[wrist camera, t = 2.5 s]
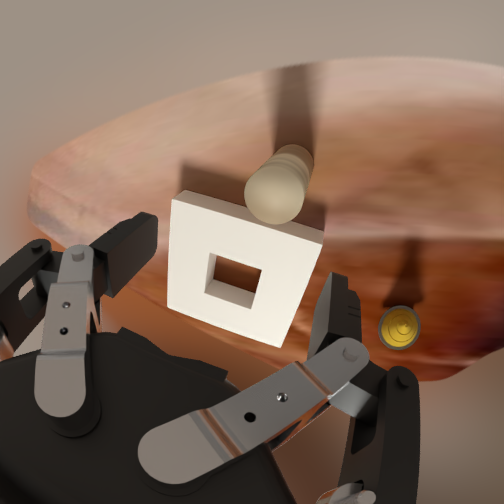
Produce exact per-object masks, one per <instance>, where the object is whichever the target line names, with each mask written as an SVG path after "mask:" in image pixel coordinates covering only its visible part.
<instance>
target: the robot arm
mask: <svg viewBox="0 0 504 504" xmlns="http://www.w3.org/2000/svg"><path fill="white" fill-rule="evenodd" d="M157 235H158V218H157V216H155V215H152V214H149V213H145V212H140V213H139V214H137V215H136V216H135V217H133V218H132V219H127V220H124V221H122V222H119V223H118V224H117V225H115V226H114V227H113V229H112V228H111V229H110V230H109V231H107V233H105V234H103V235H102V236H101V237H99V238H98V239H97V240H95V241H94V242H93V243H91V244H90V245H89V246H87V245H74V246H71V247H69V248H68V249H66V250H65V252H57V251H52V248H51V243H50V242H49V241H48V240H46V239H36V240H33V241H31V242H29V243H28V244H27V245H25V246H24V247H23V248H22V249H20V250H19V251H18V252H17V253H15V254H14V255H13V256H12V257H11V258H9V259H8V260H7V261H6V262H5V263H3V264H2V265H1V266H0V504H297V503H296V501H295V499H294V497H293V495H292V493H291V491H290V489H289V487H288V485H287V483H286V481H285V479H284V477H283V475H282V472H281V470H280V468H279V466H278V464H277V462H276V460H275V458H274V456H273V453H272V452H273V451H274V450H275V449H277V448H278V447H280V446H281V445H283V444H284V443H285V442H287V441H288V440H289V439H291V438H292V437H293V436H294V435H295V434H297V433H298V432H299V431H300V430H301V429H303V428H304V427H305V426H307V425H308V424H309V423H311V422H312V421H313V420H314V419H316V418H317V417H318V416H319V415H321V414H322V413H323V412H324V411H326V410H327V409H328V408H329V407H330V406H332V405H333V406H335V407H336V408H338V409H340V410H342V411H343V412H345V413H347V414H349V415H351V418H350V425H349V430H348V436H347V442H346V448H345V454H344V458H343V464H342V468H341V473H340V477H339V482H338V486H337V488H336V489H333V490H331V491H328V492H326V493H325V494H323V495H322V496H321V497H320V498H319V500H318V501H317V503H316V504H416V497H417V489H418V477H419V461H420V399H419V384H418V380H417V378H416V376H415V375H414V374H413V373H412V372H411V371H410V370H409V369H407V368H405V367H402V366H395V367H392V368H391V369H390V370H389V371H386V370H384V369H383V368H381V367H379V366H377V365H376V364H374V363H373V362H371V361H370V360H369V353H368V351H367V349H366V348H365V346H364V345H363V344H362V333H361V311H360V310H361V307H360V299H359V298H358V296H357V294H356V292H355V291H352V290H349V289H348V277H347V276H343V275H340V274H337V273H334V272H330V274H329V276H328V278H327V281H326V283H325V285H324V287H323V290H322V292H321V294H320V296H319V299H318V301H317V304H316V307H315V311H314V318H313V324H312V331H311V337H310V344H309V350H308V355H307V361H305V362H304V363H302V364H300V363H299V362H298V361H295V362H293V363H291V364H289V365H288V366H286V367H284V368H283V369H281V370H279V371H278V372H276V373H274V374H272V375H271V376H269V377H267V378H266V379H264V380H262V381H260V382H258V383H257V384H255V385H253V386H251V387H249V388H248V389H246V390H244V391H242V392H241V391H240V390H239V389H238V388H237V387H236V386H235V385H234V384H232V383H231V382H230V381H228V380H226V378H227V374H228V371H226V370H224V369H221V368H218V367H216V366H213V365H210V364H207V363H205V362H202V361H200V360H193V359H188V358H182V357H176V356H171V355H168V354H166V353H165V352H164V351H162V350H161V349H160V348H158V347H157V346H156V345H154V344H153V343H152V342H151V341H149V340H148V339H147V338H145V337H143V336H140V335H139V334H137V333H134V332H132V331H130V330H128V329H126V328H124V327H122V328H121V329H120V330H119V332H118V333H111V332H102V303H101V296H102V295H103V294H105V295H107V296H109V297H112V298H114V297H115V295H116V294H117V293H118V292H119V291H120V290H121V289H122V288H123V287H124V286H125V285H126V284H127V283H128V282H129V281H130V280H131V279H132V278H133V276H134V275H135V274H136V273H137V272H138V271H139V270H140V269H141V268H142V267H143V266H144V265H145V264H146V263H147V262H148V261H149V260H150V259H151V258H152V257H153V256H154V254H155V252H156V249H157ZM31 278H32V281H33V285H34V287H33V288H32V289H31V290H30V291H29V292H28V293H27V294H26V295H25V296H24V297H23V298H22V299H21V300H19V297H18V294H19V291H20V289H21V287H22V286H23V285H24V284H25V283H26V282H28V281H29V280H30V279H31ZM44 317H45V321H44V328H43V336H42V346H41V349H39V350H36V351H32V352H29V353H26V354H22V355H19V356H16V357H13V354H14V352H15V351H16V349H18V347H19V346H20V345H21V344H22V342H23V341H24V340H25V339H26V338H27V336H28V335H29V334H30V333H31V332H32V330H33V329H34V328H35V327H36V326H37V325H38V324H39V322H40V321H41V320H42V319H43V318H44Z"/></svg>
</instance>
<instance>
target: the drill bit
mask: <svg viewBox="0 0 504 504" xmlns="http://www.w3.org/2000/svg"><path fill="white" fill-rule="evenodd" d="M378 332H379V337H380V339H381V341H382V342H383V343H384V344H385V345H386V346H387V347H389V348H391V349H395V350H402V349H406V348H408V347H409V346H411V345H412V344H413V343H414V342H415V341H416V340H417V338H418V336H419V333H420V319H419V317H418V315H417V314H416V312H415V311H414V310H413V309H411V308H409V307H407V306H395V307H392V308H390V309H389V310H387V311H386V312H385V313H384V314H383V316H382V317H381V319H380V322H379V326H378Z"/></svg>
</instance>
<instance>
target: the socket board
mask: <svg viewBox="0 0 504 504" xmlns="http://www.w3.org/2000/svg"><path fill="white" fill-rule="evenodd" d="M323 237H324V231H321V230H318V229H315V228H312V227H309V226H305V225H302V224H299V223H296V222H293V221H289V222H286V223H283V224H269V223H265V222H263V221H261V220H259V219H258V218H256V217H255V216H254V215H253V214H252V213H251V212H250V210H249V209H248V208H247V207H244V206H241V205H237V204H234V203H230V202H227V201H223V200H220V199H216V198H213V197H209V196H206V195H202V194H199V193H195V192H192V191H188V190H184V191H182V192H181V193H180V194H178V195H177V196H175V197H174V198H173V199H172V206H171V220H170V237H169V259H168V305H167V307H168V308H171V309H173V310H176V311H178V312H181V313H183V314H186V315H188V316H191V317H194V318H196V319H199V320H201V321H204V322H207V323H209V324H212V325H215V326H217V327H220V328H223V329H226V330H229V331H231V332H234V333H237V334H240V335H243V336H246V337H249V338H252V339H255V340H258V341H261V342H264V343H267V344H270V345H273V346H276V347H279V348H280V347H281V345H282V343H283V340H284V338H285V336H286V334H287V331H288V329H289V327H290V324H291V322H292V320H293V317H294V315H295V313H296V310H297V308H298V306H299V303H300V301H301V298H302V296H303V294H304V291H305V289H306V286H307V284H308V281H309V279H310V276H311V274H312V271H313V269H314V266H315V264H316V261H317V258H318V256H319V253H320V251H321V248H322V245H323ZM217 255H219V256H222V257H225V258H228V259H231V260H234V261H237V262H240V263H243V264H246V265H249V266H252V267H255V268H258V269H261V270H262V272H261V276H260V280H259V283H258V287H257V290H256V293H253V292H250V291H247V290H244V289H241V288H238V287H235V286H232V285H229V284H226V283H223V282H220V281H217V280H215V279H213V276H214V270H215V263H216V257H217Z"/></svg>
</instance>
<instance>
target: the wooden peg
mask: <svg viewBox="0 0 504 504" xmlns="http://www.w3.org/2000/svg"><path fill="white" fill-rule="evenodd" d="M313 167H314V162H313V158H312V156H311V154H310V153H309V151H308V150H307V149H305V148H304V147H302V146H300V145H296V144H289V145H285V146H283V147H281V148H280V149H279V150H278V151H277V152H276V153H275V154H274V155H272V156H271V157H270V158H269V159H268V160H267V161H266V162H265V163H264V164H263V165H262V166H261V167H260V168H259V169H258V170H257V171H256V172H255V173H254V174H253V175H252V176H251V177H250V178H249V180H248V181H247V183H246V186H245V190H244V198H245V202H246V205H247V207H248V209H249V210H250V212H251V213H252V214H253V215H254V216H255V217H256V218H258V219H259V220H261V221H263V222H265V223H269V224H283V223H286V222H289V221H290V220H292V219H293V218H295V217H296V216H297V214H298V213H299V212H300V210H301V207H302V205H303V201H304V198H305V195H306V191H307V188H308V185H309V181H310V178H311V175H312V171H313Z"/></svg>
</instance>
